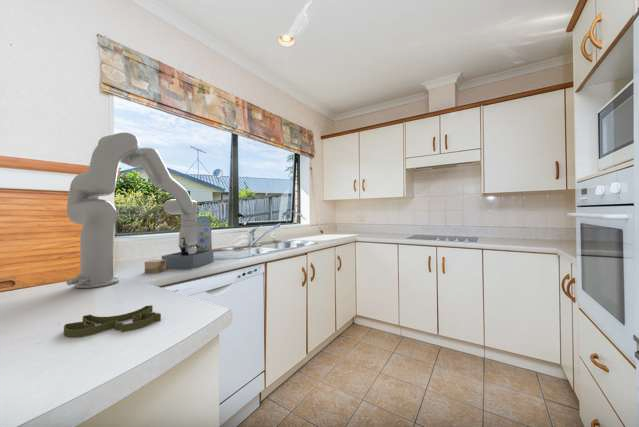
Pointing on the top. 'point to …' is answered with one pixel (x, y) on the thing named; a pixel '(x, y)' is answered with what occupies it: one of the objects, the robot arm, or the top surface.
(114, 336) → the top surface
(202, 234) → the snack box
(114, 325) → the cookie cutter
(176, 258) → the tote
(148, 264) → the kraft carton
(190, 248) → the steel tin
